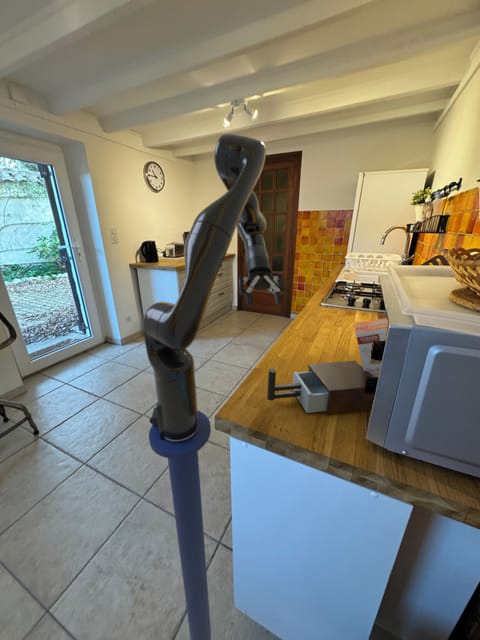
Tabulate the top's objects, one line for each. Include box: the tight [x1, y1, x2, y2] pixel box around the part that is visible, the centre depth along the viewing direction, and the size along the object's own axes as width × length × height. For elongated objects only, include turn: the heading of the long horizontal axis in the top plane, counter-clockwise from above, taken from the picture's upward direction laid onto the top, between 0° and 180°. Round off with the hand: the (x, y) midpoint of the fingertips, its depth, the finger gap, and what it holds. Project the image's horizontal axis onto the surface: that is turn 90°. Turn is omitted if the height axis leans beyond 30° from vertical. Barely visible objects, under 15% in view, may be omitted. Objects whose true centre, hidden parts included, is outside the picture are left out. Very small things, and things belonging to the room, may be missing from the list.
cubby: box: [307, 360, 374, 415], centre depth 73 cm, size 16×14×8 cm
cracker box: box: [353, 317, 388, 377], centre depth 72 cm, size 14×6×21 cm, turn 71°
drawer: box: [266, 368, 329, 414], centre depth 71 cm, size 23×11×10 cm, turn 99°
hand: (264, 305), depth 77 cm, fingers open, 8 cm apart
